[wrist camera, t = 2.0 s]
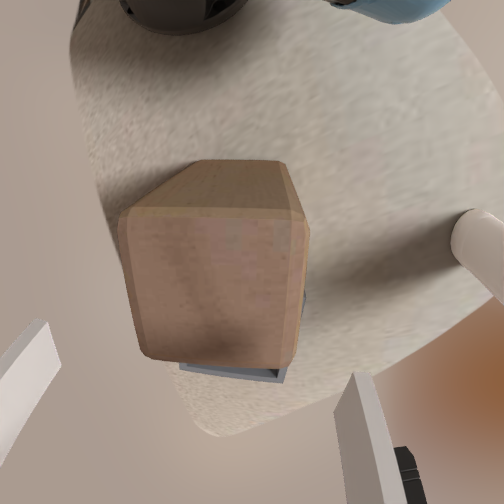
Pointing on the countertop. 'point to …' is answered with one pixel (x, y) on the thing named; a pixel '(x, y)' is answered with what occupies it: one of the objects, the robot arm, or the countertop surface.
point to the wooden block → (217, 265)
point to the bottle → (481, 248)
